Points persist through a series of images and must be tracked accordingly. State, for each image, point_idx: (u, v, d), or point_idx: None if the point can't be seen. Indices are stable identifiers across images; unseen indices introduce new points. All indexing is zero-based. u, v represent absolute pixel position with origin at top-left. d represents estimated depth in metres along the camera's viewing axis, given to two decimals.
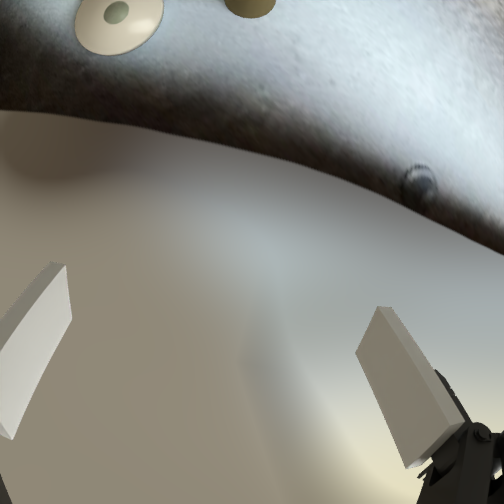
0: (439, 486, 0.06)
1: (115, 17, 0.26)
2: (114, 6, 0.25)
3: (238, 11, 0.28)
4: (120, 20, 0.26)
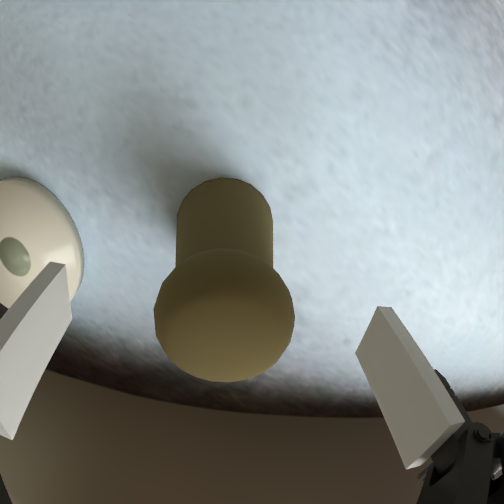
0: (439, 486, 0.06)
1: (16, 265, 0.18)
2: (7, 245, 0.18)
3: None
4: (25, 271, 0.19)
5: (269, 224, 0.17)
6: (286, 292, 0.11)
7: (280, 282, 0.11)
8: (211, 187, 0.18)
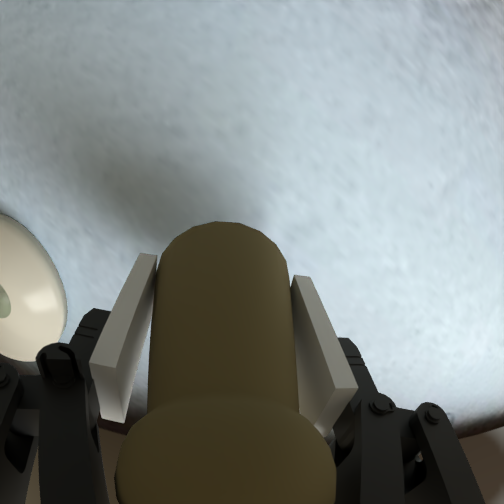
0: (343, 469, 0.07)
1: None
2: None
3: None
4: (5, 313, 0.16)
5: (288, 296, 0.12)
6: (330, 467, 0.05)
7: (322, 459, 0.05)
8: (201, 239, 0.12)
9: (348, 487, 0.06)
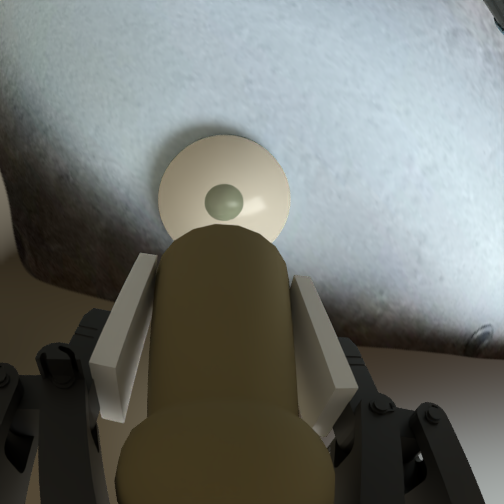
0: (343, 469, 0.07)
1: (223, 210, 0.26)
2: (219, 191, 0.26)
3: None
4: (232, 216, 0.27)
5: (288, 299, 0.12)
6: (328, 471, 0.05)
7: (321, 463, 0.05)
8: (201, 242, 0.12)
9: (348, 487, 0.06)
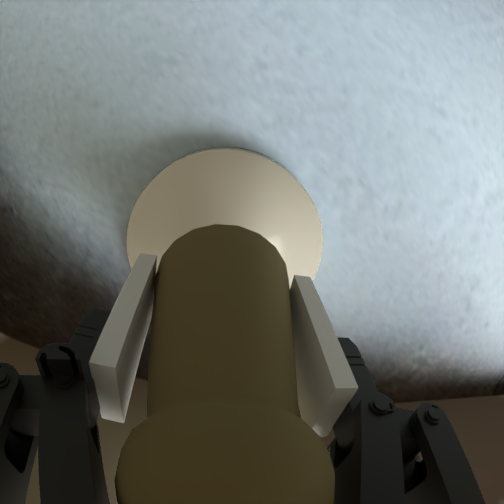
0: (343, 469, 0.07)
1: None
2: None
3: None
4: None
5: (288, 299, 0.12)
6: (328, 471, 0.05)
7: (321, 463, 0.05)
8: (201, 242, 0.12)
9: (348, 487, 0.06)
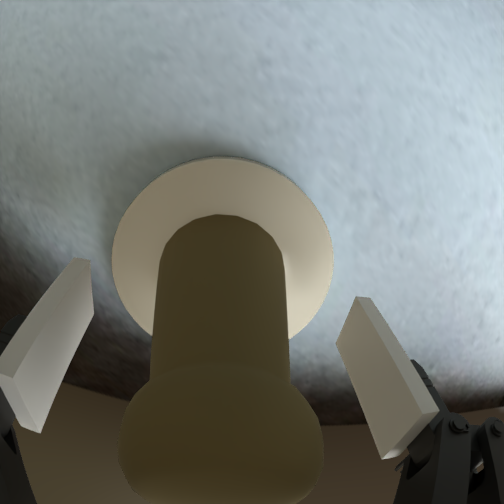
0: (416, 480, 0.06)
1: None
2: None
3: None
4: None
5: (282, 283, 0.12)
6: (315, 432, 0.06)
7: (308, 422, 0.06)
8: (202, 230, 0.13)
9: (419, 495, 0.05)
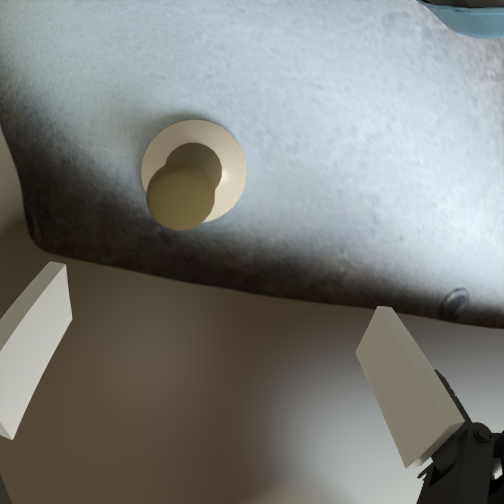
0: (439, 486, 0.06)
1: None
2: None
3: None
4: None
5: (215, 164, 0.29)
6: (208, 177, 0.22)
7: (204, 172, 0.22)
8: (182, 147, 0.29)
9: (441, 500, 0.05)
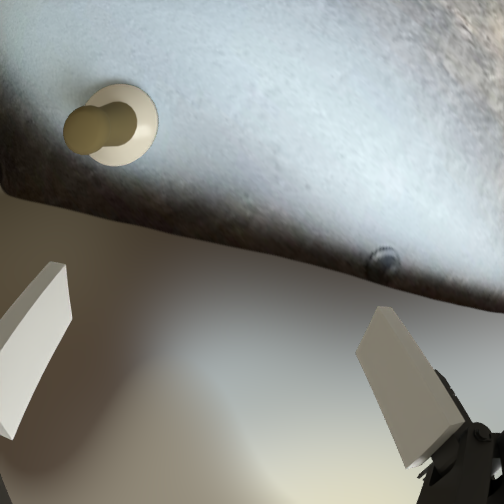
0: (439, 486, 0.06)
1: None
2: None
3: None
4: None
5: (126, 114, 0.33)
6: (103, 114, 0.27)
7: (101, 111, 0.26)
8: None
9: (442, 500, 0.05)
